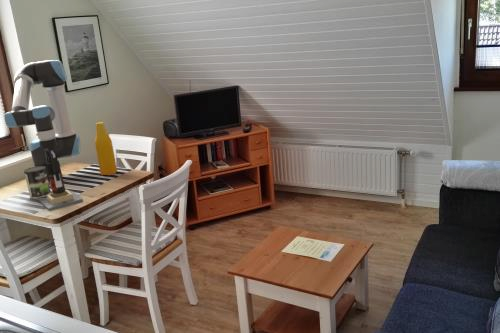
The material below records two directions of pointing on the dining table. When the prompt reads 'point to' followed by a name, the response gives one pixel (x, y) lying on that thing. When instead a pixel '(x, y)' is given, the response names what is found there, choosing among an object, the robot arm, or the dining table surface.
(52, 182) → the deodorant
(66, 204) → the hub board
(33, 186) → the coffee can
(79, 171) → the dining table surface
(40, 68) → the robot arm
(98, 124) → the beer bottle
